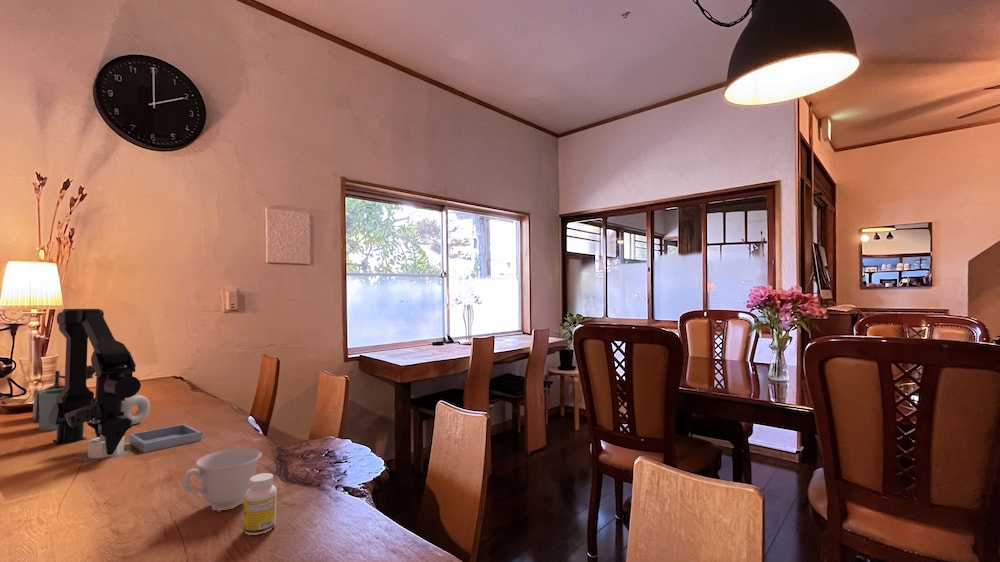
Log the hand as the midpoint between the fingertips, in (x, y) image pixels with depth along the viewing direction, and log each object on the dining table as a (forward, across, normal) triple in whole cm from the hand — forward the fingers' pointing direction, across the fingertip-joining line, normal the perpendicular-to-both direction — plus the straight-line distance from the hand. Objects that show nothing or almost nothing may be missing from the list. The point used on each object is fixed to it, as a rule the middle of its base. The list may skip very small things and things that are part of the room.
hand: (106, 451), depth 120 cm
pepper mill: (+2, -63, +2) cm, 63 cm away
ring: (+1, 0, 0) cm, 1 cm away
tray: (+1, 0, +14) cm, 14 cm away
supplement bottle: (+1, +72, +8) cm, 72 cm away
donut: (+2, -31, +14) cm, 34 cm away
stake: (+1, 0, 0) cm, 1 cm away
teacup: (+1, +57, +6) cm, 57 cm away
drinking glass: (+2, -46, -2) cm, 46 cm away
